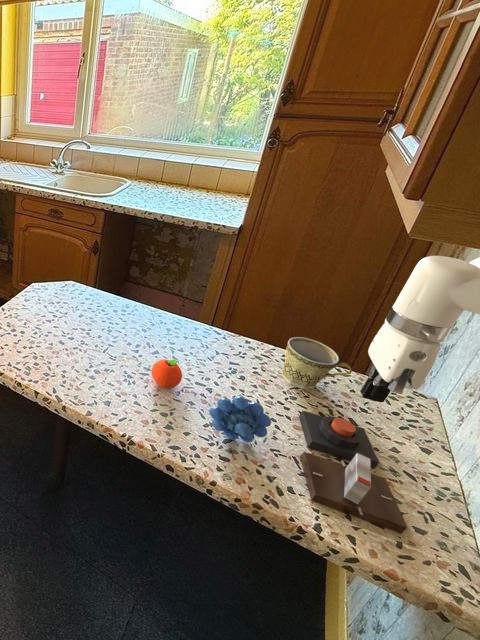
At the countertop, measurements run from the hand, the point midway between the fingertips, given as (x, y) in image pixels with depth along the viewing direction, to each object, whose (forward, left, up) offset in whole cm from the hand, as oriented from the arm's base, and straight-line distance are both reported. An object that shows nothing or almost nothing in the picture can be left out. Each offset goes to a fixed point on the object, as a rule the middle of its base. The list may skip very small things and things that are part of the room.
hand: (371, 397), depth 80 cm
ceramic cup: (+3, -18, -14) cm, 23 cm away
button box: (+1, 0, -14) cm, 14 cm away
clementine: (+35, -2, -14) cm, 38 cm away
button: (+1, 0, -11) cm, 10 cm away
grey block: (+2, +13, -12) cm, 18 cm away
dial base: (+2, +13, -14) cm, 19 cm away
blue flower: (+21, +10, -14) cm, 27 cm away
